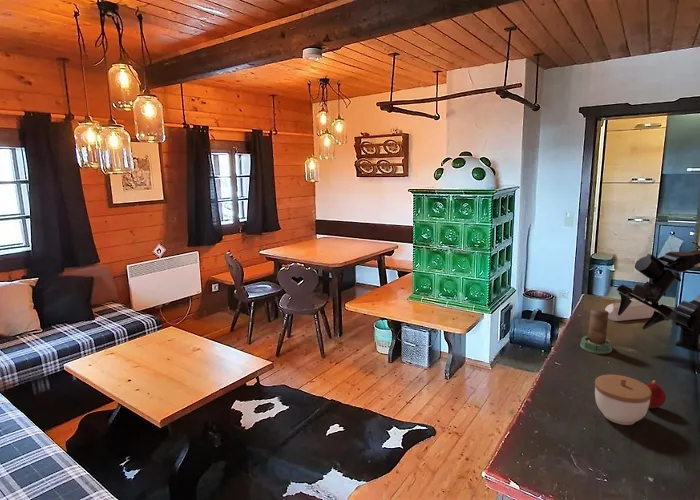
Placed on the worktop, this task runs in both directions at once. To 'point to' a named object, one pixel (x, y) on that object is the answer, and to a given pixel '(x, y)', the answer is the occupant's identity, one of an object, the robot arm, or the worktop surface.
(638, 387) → the lidded bowl
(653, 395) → the onion
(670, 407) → the worktop surface
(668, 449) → the worktop surface
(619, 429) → the worktop surface
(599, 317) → the sleeve
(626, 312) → the pale pink faceted bar
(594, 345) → the socket
